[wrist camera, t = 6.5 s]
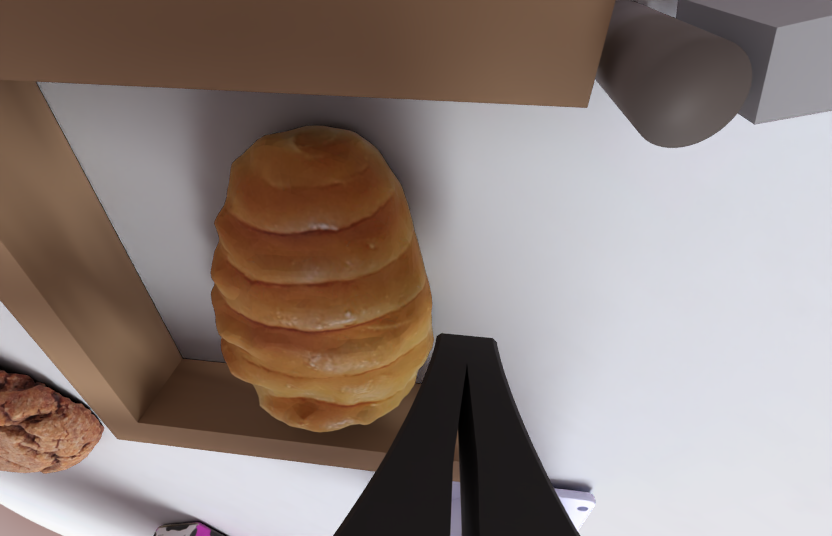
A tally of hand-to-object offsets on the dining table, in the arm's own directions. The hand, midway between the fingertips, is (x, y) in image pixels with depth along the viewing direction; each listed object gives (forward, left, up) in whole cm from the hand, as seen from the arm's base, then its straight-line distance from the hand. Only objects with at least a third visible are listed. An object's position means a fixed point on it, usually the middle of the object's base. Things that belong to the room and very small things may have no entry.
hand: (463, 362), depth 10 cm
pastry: (-1, +5, -4) cm, 6 cm away
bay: (0, +6, -3) cm, 6 cm away
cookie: (-11, +24, -4) cm, 26 cm away
